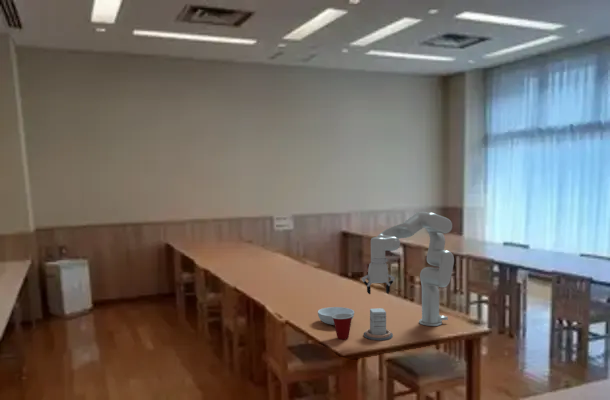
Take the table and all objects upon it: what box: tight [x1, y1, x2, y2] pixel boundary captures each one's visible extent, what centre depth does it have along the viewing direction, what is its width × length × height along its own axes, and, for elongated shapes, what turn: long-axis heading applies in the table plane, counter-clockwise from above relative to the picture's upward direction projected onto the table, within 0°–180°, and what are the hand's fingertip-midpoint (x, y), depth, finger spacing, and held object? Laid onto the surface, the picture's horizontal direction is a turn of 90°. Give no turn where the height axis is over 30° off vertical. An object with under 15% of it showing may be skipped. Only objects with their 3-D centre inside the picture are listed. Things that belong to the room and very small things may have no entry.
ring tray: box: [363, 328, 394, 342], centre depth 269 cm, size 15×15×2 cm
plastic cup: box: [332, 314, 354, 341], centre depth 266 cm, size 11×11×12 cm
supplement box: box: [369, 307, 387, 335], centre depth 269 cm, size 7×7×13 cm
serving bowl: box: [317, 306, 355, 326], centre depth 293 cm, size 21×21×7 cm
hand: (378, 293), depth 269 cm, fingers open, 9 cm apart
